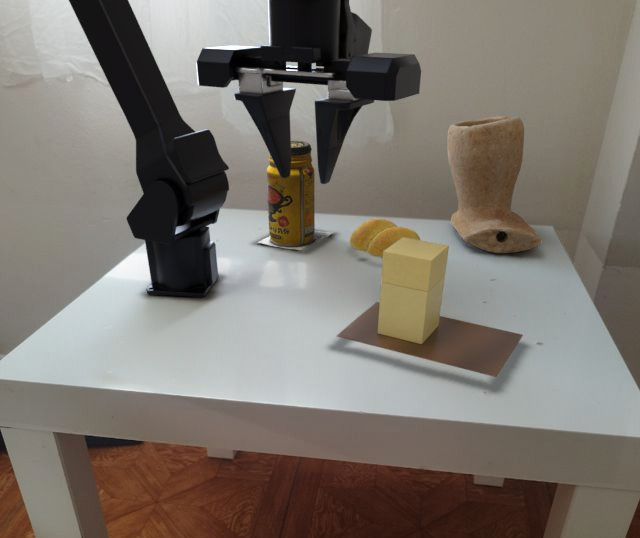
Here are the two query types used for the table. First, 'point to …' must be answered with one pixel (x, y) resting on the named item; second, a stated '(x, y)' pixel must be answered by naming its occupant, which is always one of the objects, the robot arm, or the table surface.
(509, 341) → the board
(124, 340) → the table surface
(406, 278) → the butter pat
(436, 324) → the butter block
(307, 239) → the condiment
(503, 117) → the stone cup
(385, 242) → the bread roll
